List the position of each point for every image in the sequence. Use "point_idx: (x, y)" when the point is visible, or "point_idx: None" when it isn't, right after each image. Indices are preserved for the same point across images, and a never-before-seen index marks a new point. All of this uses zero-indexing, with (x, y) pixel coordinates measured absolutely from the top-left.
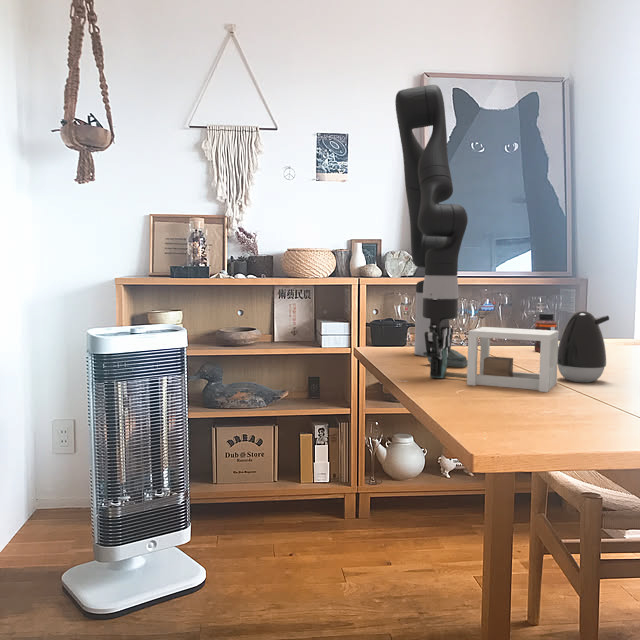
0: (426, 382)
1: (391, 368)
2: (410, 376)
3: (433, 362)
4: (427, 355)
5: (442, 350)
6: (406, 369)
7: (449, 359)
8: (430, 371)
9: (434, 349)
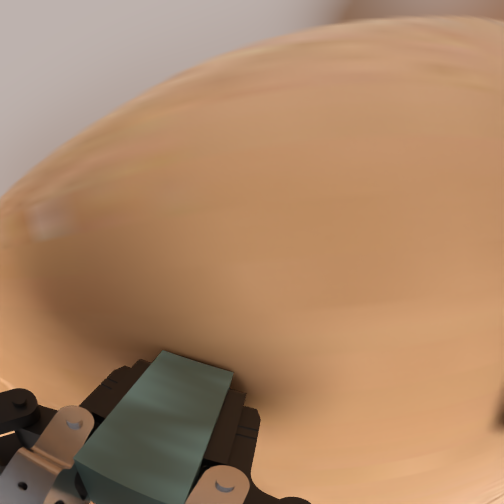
0: (57, 321)
1: (478, 88)
2: (181, 232)
3: (87, 408)
4: (14, 391)
5: (96, 502)
6: (479, 179)
7: None
8: (149, 367)
9: (112, 487)
